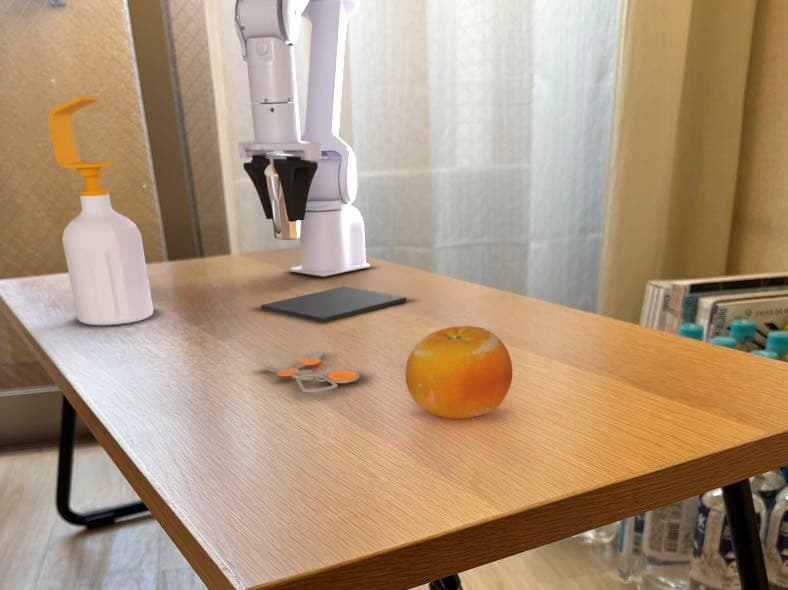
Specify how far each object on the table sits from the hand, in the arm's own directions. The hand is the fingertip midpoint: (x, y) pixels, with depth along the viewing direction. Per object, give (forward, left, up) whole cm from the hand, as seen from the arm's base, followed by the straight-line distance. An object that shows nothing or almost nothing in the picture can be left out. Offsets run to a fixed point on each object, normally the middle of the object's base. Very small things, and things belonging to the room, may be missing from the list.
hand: (285, 219), depth 116 cm
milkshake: (0, 0, -3) cm, 3 cm away
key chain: (+23, +32, -10) cm, 41 cm away
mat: (+1, +10, -9) cm, 14 cm away
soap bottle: (+22, -7, -10) cm, 25 cm away
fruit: (+22, +50, -10) cm, 56 cm away
